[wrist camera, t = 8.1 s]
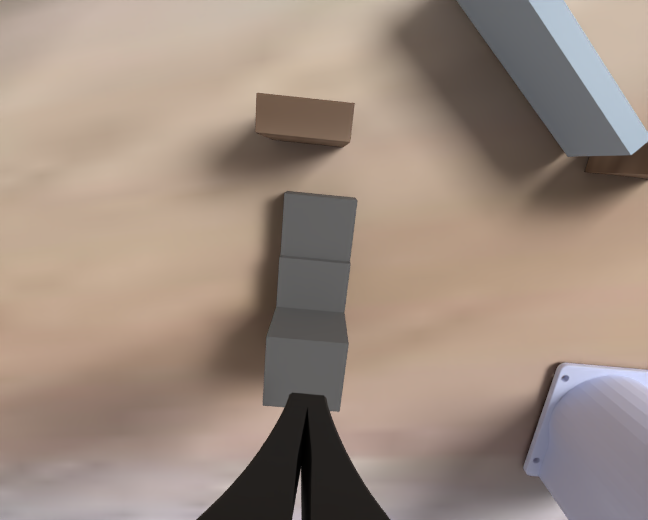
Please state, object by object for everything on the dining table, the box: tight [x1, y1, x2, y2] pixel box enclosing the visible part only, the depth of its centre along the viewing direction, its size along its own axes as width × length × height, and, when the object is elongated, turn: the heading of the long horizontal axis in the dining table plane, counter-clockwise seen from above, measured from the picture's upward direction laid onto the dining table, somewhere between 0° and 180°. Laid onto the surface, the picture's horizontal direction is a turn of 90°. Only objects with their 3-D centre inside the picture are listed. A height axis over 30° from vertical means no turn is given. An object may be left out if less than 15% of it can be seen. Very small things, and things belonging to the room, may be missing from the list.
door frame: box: [255, 93, 648, 178], centre depth 16 cm, size 2×22×5 cm, turn 84°
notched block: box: [263, 191, 357, 412], centre depth 18 cm, size 10×4×6 cm, turn 174°
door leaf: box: [456, 0, 648, 157], centre depth 15 cm, size 2×11×4 cm, turn 44°
